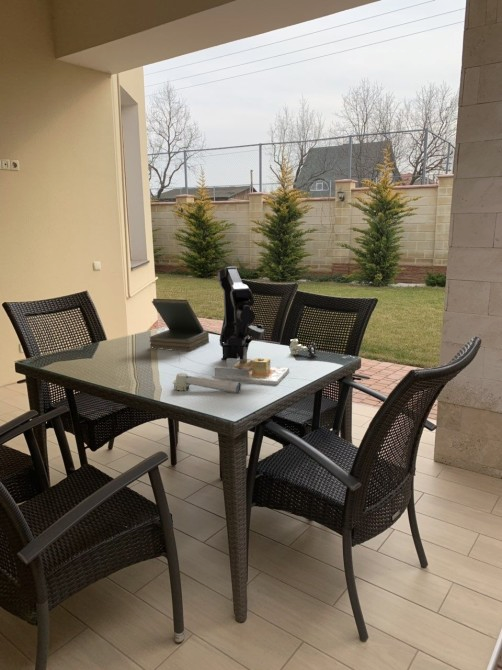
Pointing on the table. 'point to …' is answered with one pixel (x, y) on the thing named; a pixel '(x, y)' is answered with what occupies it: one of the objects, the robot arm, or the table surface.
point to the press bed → (248, 374)
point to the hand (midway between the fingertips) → (243, 358)
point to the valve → (295, 347)
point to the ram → (244, 361)
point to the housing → (260, 366)
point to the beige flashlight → (205, 383)
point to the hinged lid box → (178, 326)
